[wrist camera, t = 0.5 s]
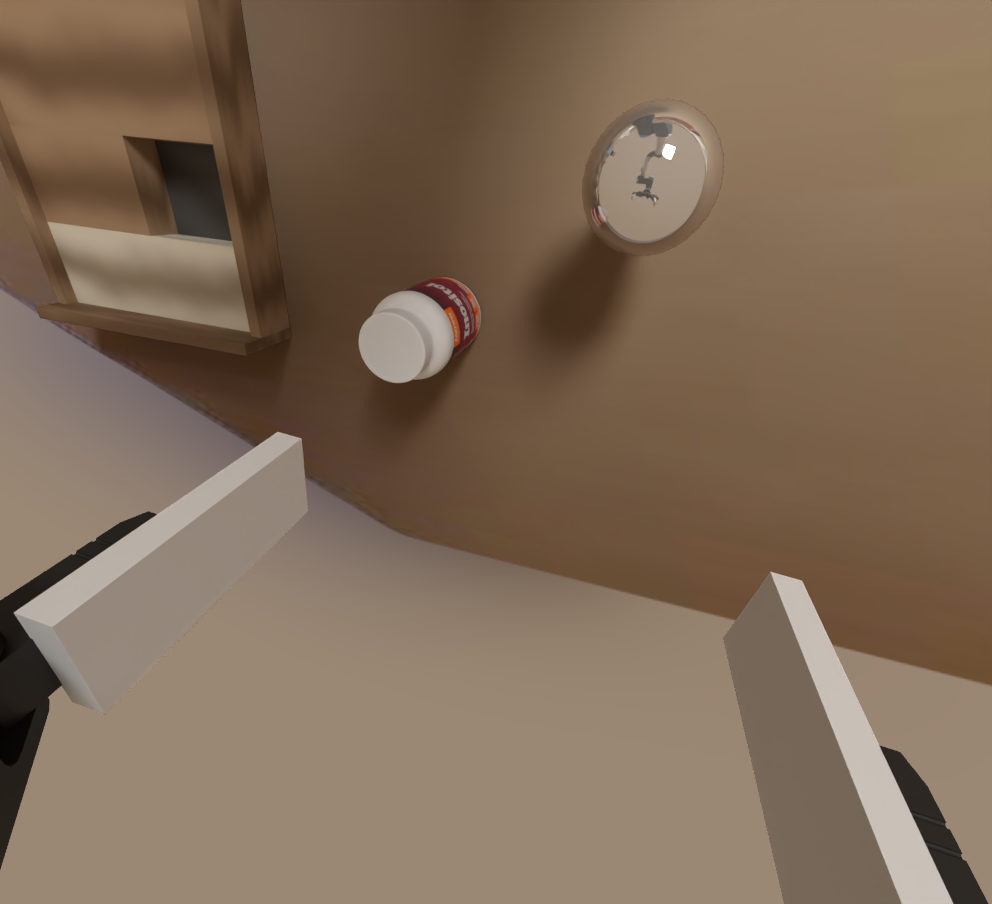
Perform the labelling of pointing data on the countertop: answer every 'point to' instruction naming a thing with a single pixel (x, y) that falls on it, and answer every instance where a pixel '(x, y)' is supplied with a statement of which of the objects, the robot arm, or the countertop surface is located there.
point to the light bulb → (653, 177)
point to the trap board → (143, 168)
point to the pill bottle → (419, 330)
